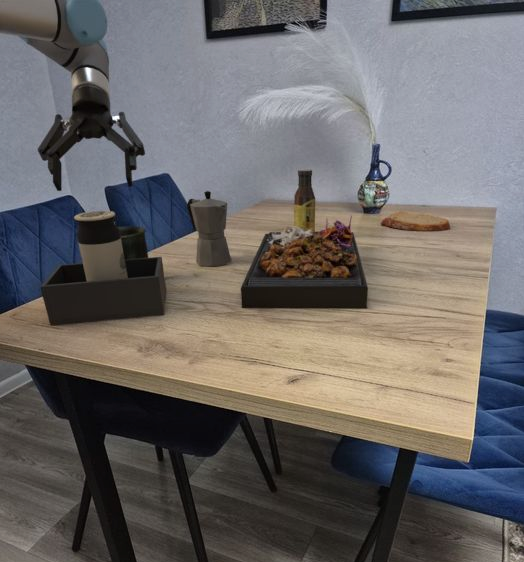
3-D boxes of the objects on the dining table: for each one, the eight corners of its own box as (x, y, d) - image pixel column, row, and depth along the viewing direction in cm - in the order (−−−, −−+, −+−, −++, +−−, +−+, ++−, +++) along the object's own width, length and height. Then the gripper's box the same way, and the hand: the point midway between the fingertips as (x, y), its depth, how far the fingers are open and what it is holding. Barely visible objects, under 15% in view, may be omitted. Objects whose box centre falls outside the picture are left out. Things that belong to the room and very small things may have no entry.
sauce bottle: (308, 243, 138) (309, 171, 129) (290, 241, 141) (289, 171, 132) (318, 238, 143) (319, 168, 134) (300, 236, 146) (300, 168, 137)
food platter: (265, 249, 134) (264, 212, 130) (353, 248, 131) (354, 210, 127) (242, 307, 94) (238, 257, 90) (366, 308, 92) (370, 256, 87)
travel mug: (85, 309, 95) (64, 218, 87) (103, 295, 102) (85, 210, 94) (122, 310, 94) (104, 218, 85) (137, 296, 101) (123, 210, 92)
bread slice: (454, 229, 147) (456, 217, 145) (402, 234, 143) (403, 222, 141) (424, 218, 162) (425, 207, 161) (376, 223, 159) (376, 211, 157)
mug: (162, 281, 112) (154, 230, 107) (104, 297, 103) (93, 242, 98) (139, 271, 119) (132, 224, 114) (84, 286, 111) (73, 235, 105)
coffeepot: (243, 262, 123) (239, 190, 115) (216, 270, 118) (209, 196, 109) (206, 252, 133) (200, 186, 125) (179, 260, 127) (171, 191, 119)
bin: (50, 325, 90) (40, 286, 87) (66, 299, 103) (58, 264, 100) (164, 314, 93) (158, 276, 89) (166, 290, 106) (161, 256, 102)
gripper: (154, 111, 103) (160, 192, 96) (35, 116, 100) (33, 200, 94) (149, 81, 96) (155, 167, 89) (21, 86, 93) (18, 175, 86)
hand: (93, 184), depth 91 cm, fingers open, 13 cm apart
